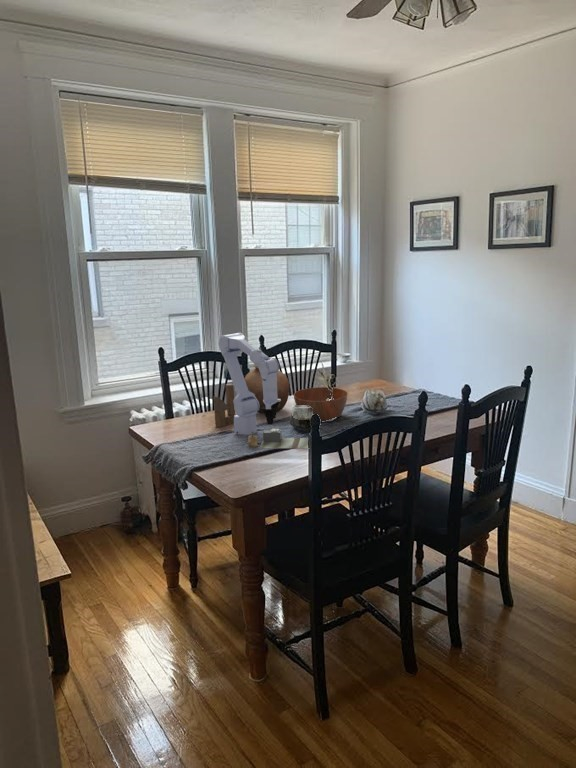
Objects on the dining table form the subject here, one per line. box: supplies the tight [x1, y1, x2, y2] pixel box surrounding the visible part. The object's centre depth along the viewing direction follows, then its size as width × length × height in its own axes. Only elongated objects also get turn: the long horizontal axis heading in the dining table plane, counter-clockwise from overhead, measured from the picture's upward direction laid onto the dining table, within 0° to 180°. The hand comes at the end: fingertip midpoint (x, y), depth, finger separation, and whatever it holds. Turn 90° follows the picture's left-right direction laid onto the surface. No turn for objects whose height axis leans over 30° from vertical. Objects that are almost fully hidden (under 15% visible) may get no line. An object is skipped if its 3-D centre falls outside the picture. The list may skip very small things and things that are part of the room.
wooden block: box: [212, 383, 237, 428], centre depth 259 cm, size 4×11×18 cm, turn 140°
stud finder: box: [262, 428, 283, 442], centre depth 233 cm, size 7×4×4 cm, turn 83°
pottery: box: [244, 363, 290, 415], centre depth 273 cm, size 23×23×25 cm
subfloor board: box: [259, 437, 309, 449], centre depth 229 cm, size 20×12×1 cm, turn 84°
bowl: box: [293, 386, 349, 423], centre depth 263 cm, size 25×25×11 cm
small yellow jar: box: [247, 432, 259, 448], centre depth 227 cm, size 4×4×7 cm
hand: (271, 421), depth 231 cm, fingers open, 7 cm apart
